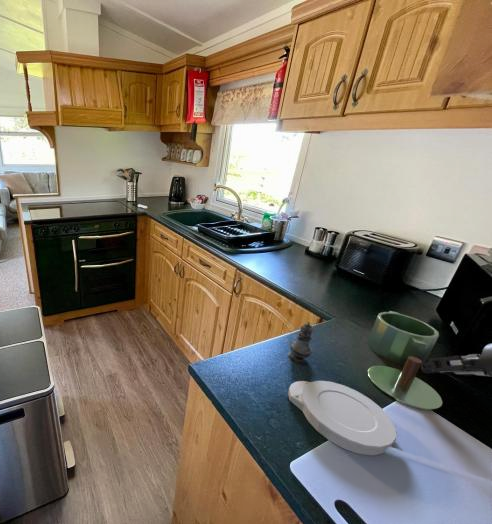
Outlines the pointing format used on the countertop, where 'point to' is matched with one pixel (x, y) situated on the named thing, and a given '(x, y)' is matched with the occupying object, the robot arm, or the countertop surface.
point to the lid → (344, 416)
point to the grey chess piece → (301, 345)
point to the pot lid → (405, 385)
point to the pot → (401, 337)
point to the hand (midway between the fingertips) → (441, 369)
